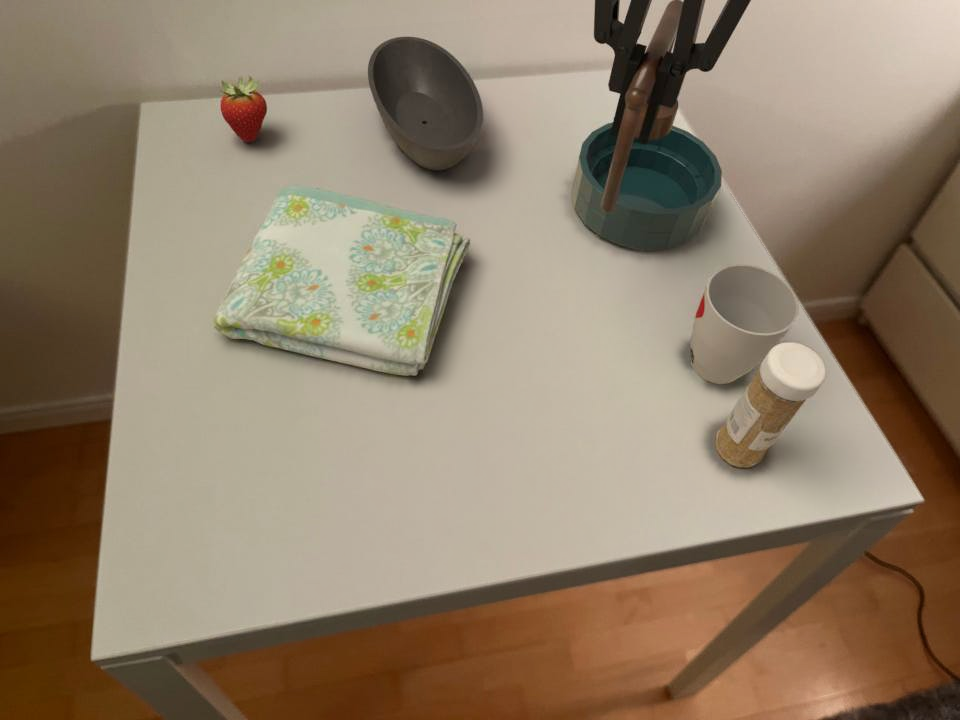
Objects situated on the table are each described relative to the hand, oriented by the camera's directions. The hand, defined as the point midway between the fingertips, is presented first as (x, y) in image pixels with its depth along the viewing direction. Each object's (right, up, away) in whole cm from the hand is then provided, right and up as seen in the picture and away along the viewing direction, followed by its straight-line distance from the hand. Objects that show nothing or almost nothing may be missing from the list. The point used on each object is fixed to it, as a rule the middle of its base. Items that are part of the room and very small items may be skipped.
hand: (632, 129), depth 60 cm
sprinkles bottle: (+11, -27, +8) cm, 30 cm away
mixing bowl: (+6, -1, +26) cm, 26 cm away
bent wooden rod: (+1, -1, +6) cm, 6 cm away
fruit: (-40, +7, +28) cm, 49 cm away
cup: (+11, -19, +13) cm, 26 cm away
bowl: (-19, +9, +31) cm, 37 cm away
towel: (-26, -12, +16) cm, 32 cm away
